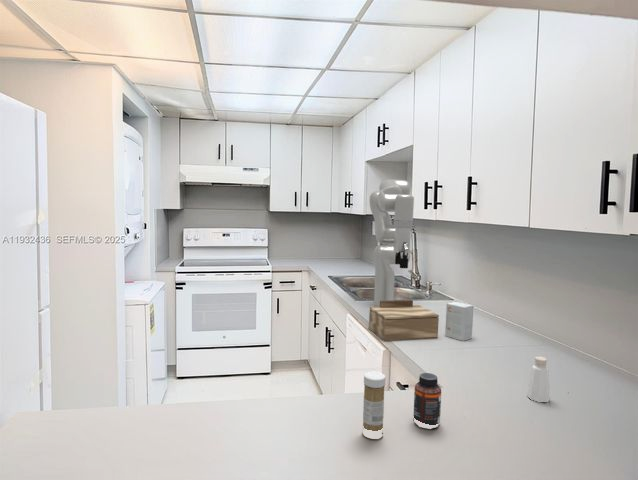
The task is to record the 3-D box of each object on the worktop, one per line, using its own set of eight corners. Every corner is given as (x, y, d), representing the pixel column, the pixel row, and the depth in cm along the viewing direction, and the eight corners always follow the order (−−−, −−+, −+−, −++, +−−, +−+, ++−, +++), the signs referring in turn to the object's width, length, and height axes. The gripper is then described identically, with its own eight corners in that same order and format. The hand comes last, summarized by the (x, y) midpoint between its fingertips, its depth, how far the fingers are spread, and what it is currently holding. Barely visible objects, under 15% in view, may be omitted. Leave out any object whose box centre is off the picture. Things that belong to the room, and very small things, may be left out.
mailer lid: (369, 308, 168) (369, 300, 168) (418, 307, 173) (419, 299, 173) (385, 319, 153) (385, 310, 152) (438, 317, 158) (439, 308, 158)
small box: (472, 338, 160) (474, 305, 159) (463, 341, 156) (465, 307, 155) (453, 333, 166) (455, 301, 165) (444, 335, 162) (446, 303, 161)
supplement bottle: (445, 427, 94) (448, 378, 93) (426, 433, 91) (428, 383, 90) (426, 415, 99) (428, 369, 98) (407, 420, 96) (409, 373, 95)
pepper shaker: (522, 395, 111) (524, 355, 110) (537, 392, 113) (539, 353, 112) (539, 404, 106) (542, 362, 105) (554, 401, 108) (557, 360, 107)
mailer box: (368, 328, 169) (369, 309, 168) (417, 326, 174) (418, 307, 173) (384, 341, 153) (385, 320, 153) (437, 338, 159) (438, 317, 158)
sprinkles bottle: (381, 429, 92) (383, 371, 91) (384, 441, 87) (387, 379, 86) (360, 429, 92) (363, 370, 91) (362, 440, 87) (365, 378, 86)
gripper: (390, 223, 178) (388, 262, 179) (398, 226, 161) (396, 269, 162) (407, 223, 178) (405, 263, 179) (417, 226, 161) (415, 270, 162)
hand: (401, 266), depth 171 cm, fingers open, 9 cm apart
